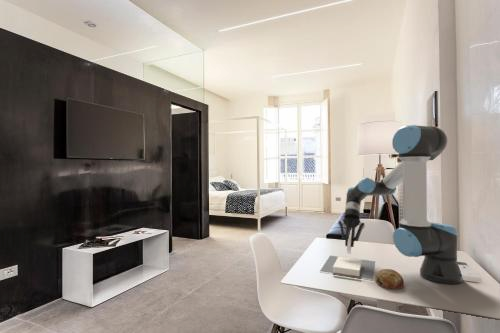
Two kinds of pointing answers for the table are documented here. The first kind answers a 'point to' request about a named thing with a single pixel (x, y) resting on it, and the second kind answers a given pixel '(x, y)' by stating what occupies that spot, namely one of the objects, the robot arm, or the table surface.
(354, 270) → the tile
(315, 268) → the table surface
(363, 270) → the mat
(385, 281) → the bread roll
